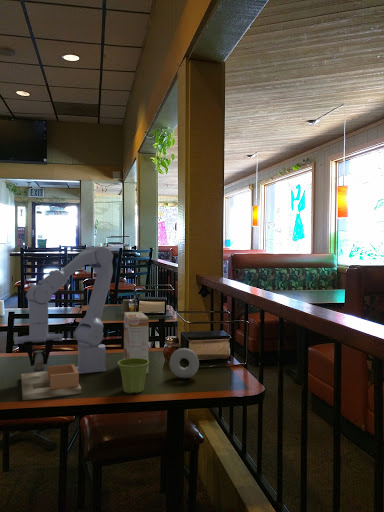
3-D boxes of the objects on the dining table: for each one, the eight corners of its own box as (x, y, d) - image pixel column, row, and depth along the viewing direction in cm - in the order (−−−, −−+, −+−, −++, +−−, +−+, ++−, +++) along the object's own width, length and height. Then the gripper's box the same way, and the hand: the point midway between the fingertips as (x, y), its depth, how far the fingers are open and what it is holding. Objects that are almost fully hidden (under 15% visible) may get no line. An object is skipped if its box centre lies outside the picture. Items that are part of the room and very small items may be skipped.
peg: (44, 368, 136) (44, 350, 136) (45, 371, 132) (45, 352, 132) (32, 369, 134) (32, 351, 134) (33, 372, 131) (33, 353, 131)
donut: (199, 377, 139) (199, 347, 139) (198, 380, 136) (198, 349, 136) (170, 376, 140) (170, 346, 140) (168, 379, 137) (168, 348, 137)
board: (71, 373, 142) (71, 368, 142) (81, 393, 122) (81, 387, 122) (21, 378, 136) (21, 373, 136) (22, 400, 116) (22, 394, 116)
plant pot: (135, 397, 119) (135, 367, 119) (111, 391, 124) (111, 362, 124) (155, 388, 127) (155, 360, 127) (131, 383, 132) (131, 356, 132)
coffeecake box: (123, 364, 155) (123, 312, 155) (141, 362, 157) (142, 311, 157) (128, 375, 141) (128, 318, 141) (148, 373, 143) (149, 317, 143)
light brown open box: (73, 376, 133) (73, 363, 133) (78, 386, 123) (78, 372, 123) (47, 379, 130) (47, 366, 130) (50, 389, 120) (50, 375, 120)
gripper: (61, 319, 140) (61, 359, 140) (14, 321, 134) (14, 363, 134) (63, 322, 133) (63, 364, 133) (14, 325, 128) (14, 369, 128)
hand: (38, 364), depth 133 cm, fingers closed on peg, 4 cm apart
